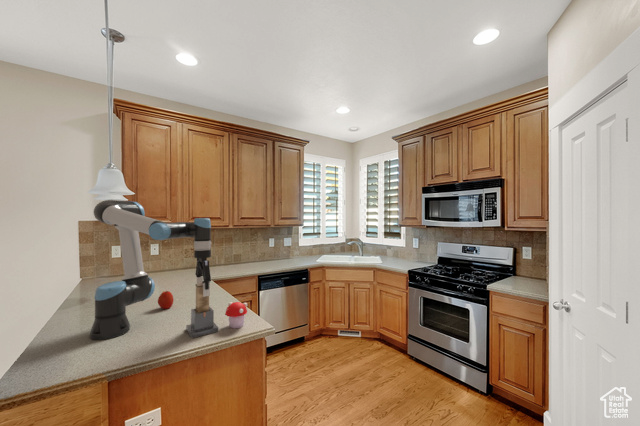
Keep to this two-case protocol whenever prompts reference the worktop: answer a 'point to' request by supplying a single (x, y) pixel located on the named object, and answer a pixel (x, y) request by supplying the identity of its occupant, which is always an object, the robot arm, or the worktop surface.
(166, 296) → the apple
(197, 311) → the post
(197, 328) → the sleeve
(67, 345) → the worktop surface
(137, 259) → the robot arm
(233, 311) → the mushroom
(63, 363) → the worktop surface
